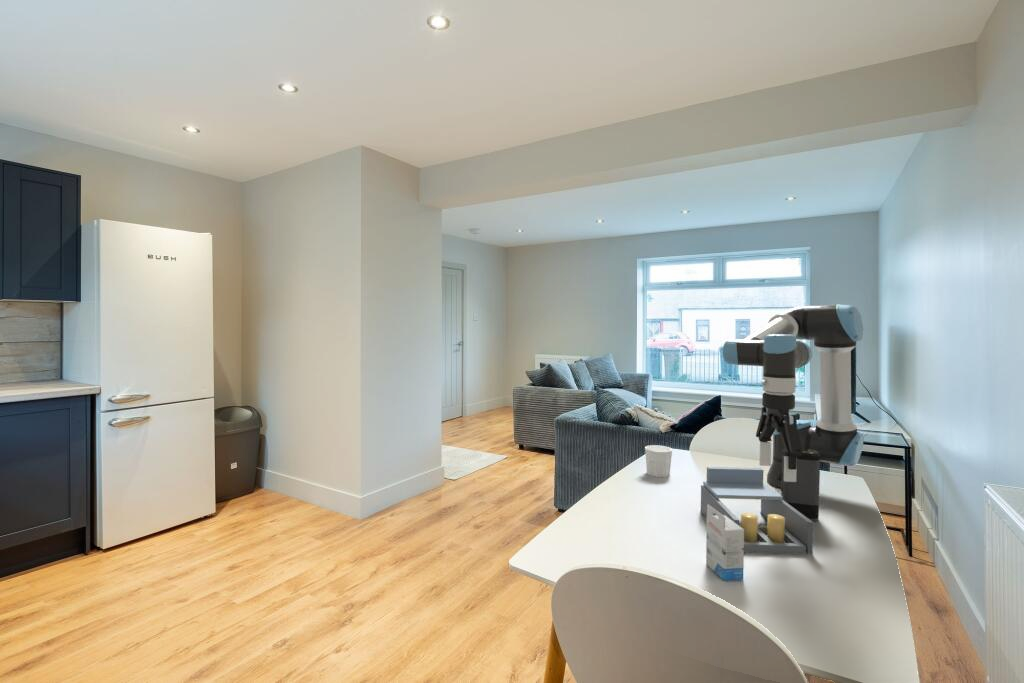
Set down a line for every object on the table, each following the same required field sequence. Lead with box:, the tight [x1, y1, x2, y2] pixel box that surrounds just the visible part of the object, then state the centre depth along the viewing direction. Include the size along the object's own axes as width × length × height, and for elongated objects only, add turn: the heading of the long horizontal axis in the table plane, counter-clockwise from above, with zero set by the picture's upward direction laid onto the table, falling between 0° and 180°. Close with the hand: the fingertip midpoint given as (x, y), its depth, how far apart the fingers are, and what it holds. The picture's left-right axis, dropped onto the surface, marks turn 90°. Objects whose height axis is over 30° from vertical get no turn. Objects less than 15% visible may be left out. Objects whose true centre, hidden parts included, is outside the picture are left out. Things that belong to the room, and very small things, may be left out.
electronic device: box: [780, 449, 821, 522], centre depth 146 cm, size 9×6×20 cm, turn 71°
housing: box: [700, 484, 814, 555], centre depth 136 cm, size 19×27×8 cm
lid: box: [702, 466, 783, 501], centre depth 142 cm, size 18×12×6 cm, turn 86°
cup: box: [644, 444, 673, 478], centre depth 187 cm, size 10×10×10 cm
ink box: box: [705, 504, 745, 582], centre depth 113 cm, size 9×5×15 cm, turn 5°
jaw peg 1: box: [740, 512, 759, 542], centre depth 129 cm, size 4×4×7 cm
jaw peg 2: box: [766, 514, 785, 543], centre depth 128 cm, size 4×4×7 cm
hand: (776, 473), depth 128 cm, fingers open, 13 cm apart
